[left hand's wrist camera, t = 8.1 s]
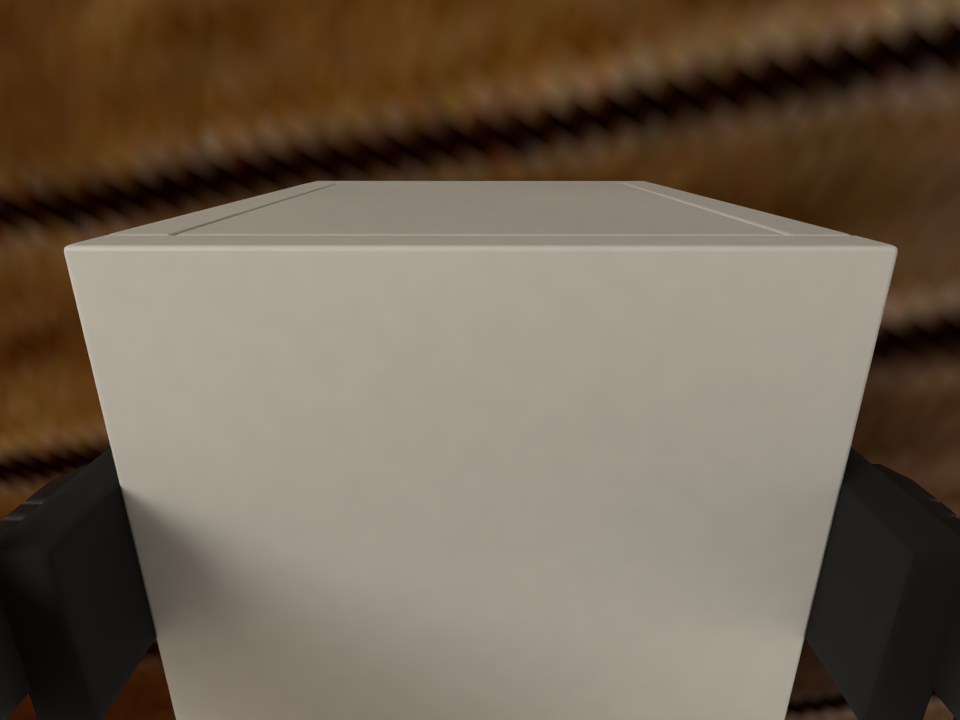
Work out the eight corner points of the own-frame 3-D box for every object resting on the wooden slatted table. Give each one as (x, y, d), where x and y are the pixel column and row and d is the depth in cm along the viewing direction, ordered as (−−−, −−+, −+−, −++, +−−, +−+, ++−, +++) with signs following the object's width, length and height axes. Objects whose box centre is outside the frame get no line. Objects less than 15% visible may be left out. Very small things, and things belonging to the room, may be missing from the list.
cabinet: (597, 712, 26) (684, 1142, 15) (363, 712, 26) (275, 1141, 15) (646, 181, 18) (902, 246, 7) (315, 181, 18) (60, 245, 7)
